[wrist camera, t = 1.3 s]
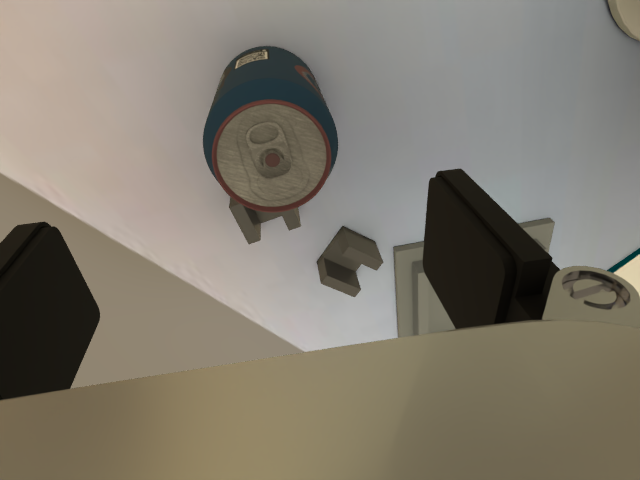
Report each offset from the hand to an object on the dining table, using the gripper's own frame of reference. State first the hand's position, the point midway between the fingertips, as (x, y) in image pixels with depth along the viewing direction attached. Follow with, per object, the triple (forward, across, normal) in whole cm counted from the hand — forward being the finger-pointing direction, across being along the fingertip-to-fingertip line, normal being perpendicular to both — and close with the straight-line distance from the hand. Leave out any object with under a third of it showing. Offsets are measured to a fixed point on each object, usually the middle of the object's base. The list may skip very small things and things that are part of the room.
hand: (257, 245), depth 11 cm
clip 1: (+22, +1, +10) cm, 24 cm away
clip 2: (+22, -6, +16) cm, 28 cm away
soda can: (+22, -1, +2) cm, 22 cm away
